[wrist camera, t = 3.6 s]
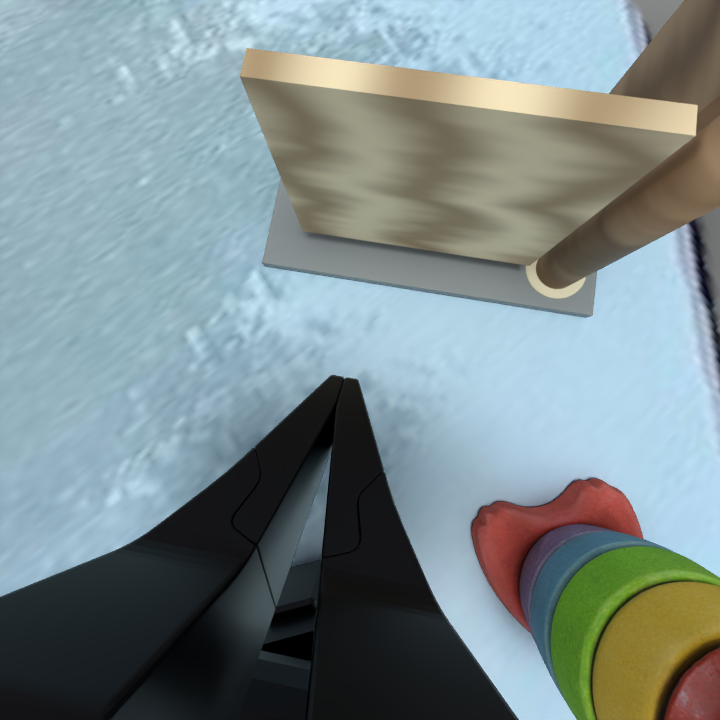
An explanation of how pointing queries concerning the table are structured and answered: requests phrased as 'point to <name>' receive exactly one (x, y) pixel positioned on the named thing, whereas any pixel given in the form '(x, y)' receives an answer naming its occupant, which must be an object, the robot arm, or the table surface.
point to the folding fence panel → (451, 153)
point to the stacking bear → (606, 605)
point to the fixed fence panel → (676, 173)
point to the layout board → (416, 267)
